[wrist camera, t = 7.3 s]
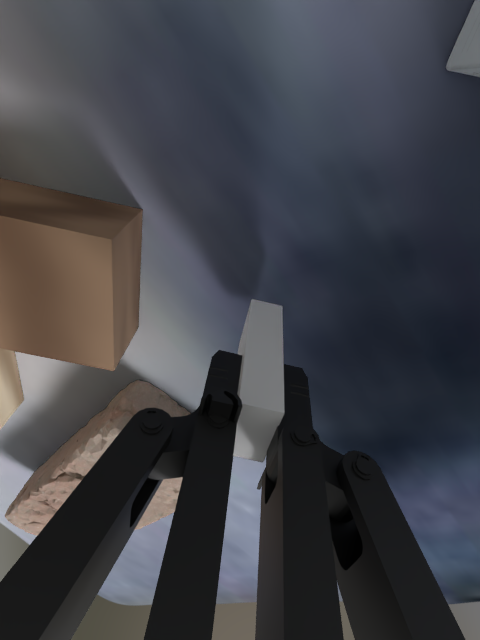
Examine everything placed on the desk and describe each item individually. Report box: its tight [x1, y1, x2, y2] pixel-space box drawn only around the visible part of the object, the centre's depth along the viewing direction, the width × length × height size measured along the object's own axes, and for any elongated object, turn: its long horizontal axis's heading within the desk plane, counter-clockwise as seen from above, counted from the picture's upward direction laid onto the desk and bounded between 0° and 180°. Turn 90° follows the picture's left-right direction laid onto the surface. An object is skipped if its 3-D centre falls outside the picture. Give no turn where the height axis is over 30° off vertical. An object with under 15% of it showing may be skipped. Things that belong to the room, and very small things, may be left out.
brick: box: [5, 380, 191, 536], centre depth 26 cm, size 16×8×5 cm, turn 137°
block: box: [0, 178, 143, 371], centre depth 17 cm, size 7×7×4 cm
